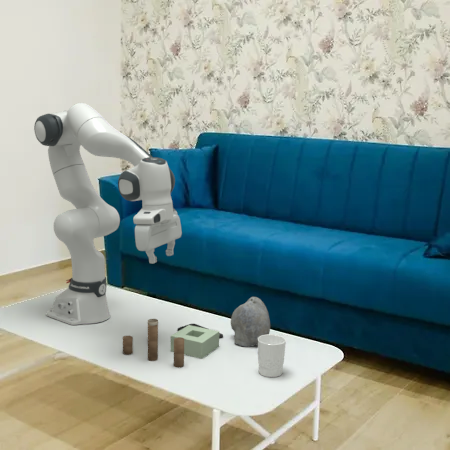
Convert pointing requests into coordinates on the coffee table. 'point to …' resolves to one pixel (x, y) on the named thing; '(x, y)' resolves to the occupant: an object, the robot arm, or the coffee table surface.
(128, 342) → the pin short
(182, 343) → the pin medium
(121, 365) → the coffee table surface
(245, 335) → the decorative stone
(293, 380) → the coffee table surface
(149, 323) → the pin long
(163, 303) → the coffee table surface
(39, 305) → the coffee table surface
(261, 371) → the white cup
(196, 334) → the socket block
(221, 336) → the phone
